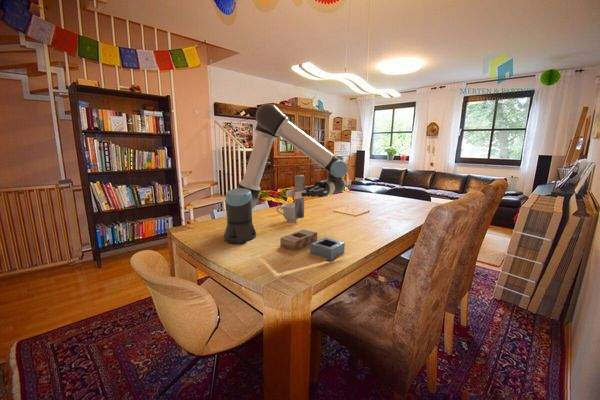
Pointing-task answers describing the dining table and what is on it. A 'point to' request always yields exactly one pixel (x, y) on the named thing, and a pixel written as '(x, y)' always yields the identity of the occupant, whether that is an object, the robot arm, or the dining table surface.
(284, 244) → the brown rectangular block
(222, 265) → the dining table surface
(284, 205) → the teacup
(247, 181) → the robot arm
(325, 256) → the socket block
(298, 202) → the grey brown square post
